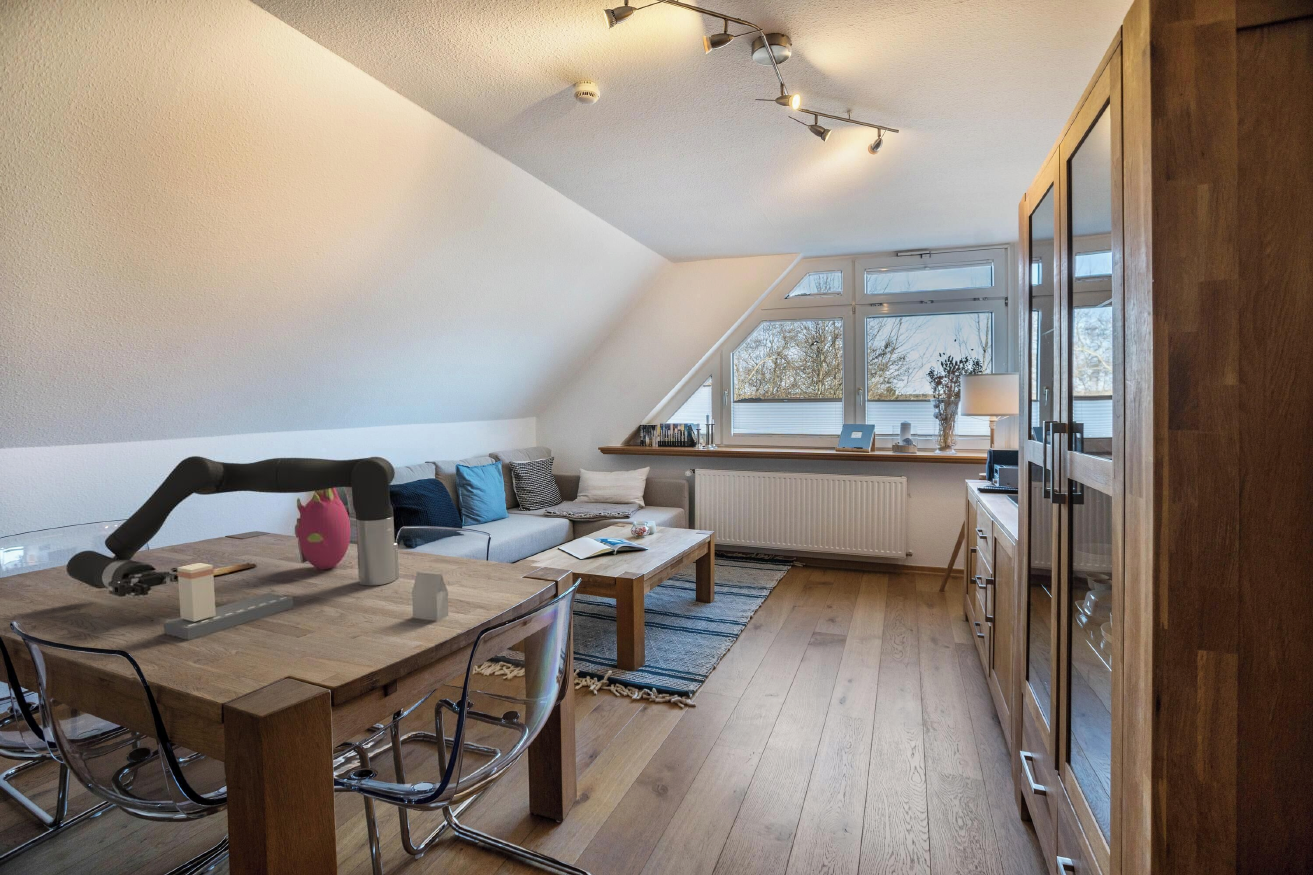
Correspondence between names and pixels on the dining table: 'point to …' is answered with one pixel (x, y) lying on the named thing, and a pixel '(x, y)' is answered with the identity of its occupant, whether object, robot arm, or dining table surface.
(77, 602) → the dining table surface
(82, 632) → the dining table surface
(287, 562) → the dining table surface
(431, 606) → the grey milk carton
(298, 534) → the pink dragon fruit
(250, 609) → the toy road segment
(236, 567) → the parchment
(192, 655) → the dining table surface
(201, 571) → the cream block
